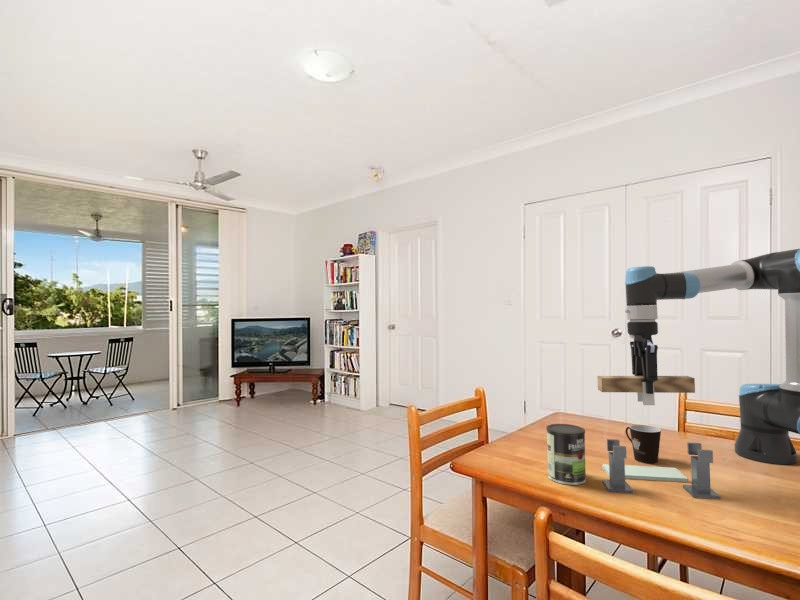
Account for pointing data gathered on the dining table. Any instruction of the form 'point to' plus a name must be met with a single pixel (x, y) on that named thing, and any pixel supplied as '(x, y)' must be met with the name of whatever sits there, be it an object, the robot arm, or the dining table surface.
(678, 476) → the mat
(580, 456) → the coffee can
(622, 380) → the rail
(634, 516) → the dining table surface
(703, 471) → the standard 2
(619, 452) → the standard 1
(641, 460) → the coffee mug
